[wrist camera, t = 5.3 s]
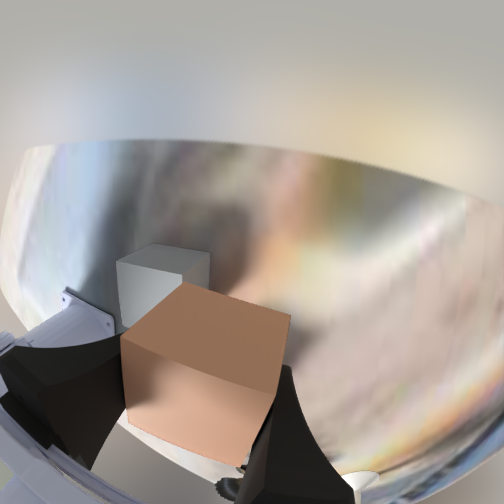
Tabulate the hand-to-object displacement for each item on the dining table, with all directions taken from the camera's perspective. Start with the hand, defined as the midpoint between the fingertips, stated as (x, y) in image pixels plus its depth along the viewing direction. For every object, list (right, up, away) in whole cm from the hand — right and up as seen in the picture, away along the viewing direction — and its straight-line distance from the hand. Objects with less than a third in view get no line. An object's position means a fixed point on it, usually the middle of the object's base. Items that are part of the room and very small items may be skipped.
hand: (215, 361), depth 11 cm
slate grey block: (-4, +3, +10) cm, 11 cm away
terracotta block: (0, 0, +1) cm, 2 cm away
